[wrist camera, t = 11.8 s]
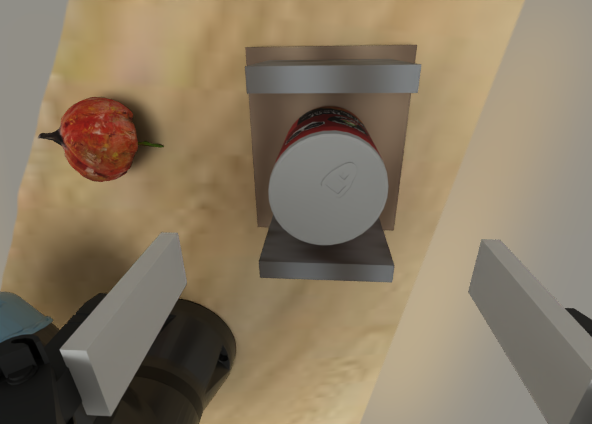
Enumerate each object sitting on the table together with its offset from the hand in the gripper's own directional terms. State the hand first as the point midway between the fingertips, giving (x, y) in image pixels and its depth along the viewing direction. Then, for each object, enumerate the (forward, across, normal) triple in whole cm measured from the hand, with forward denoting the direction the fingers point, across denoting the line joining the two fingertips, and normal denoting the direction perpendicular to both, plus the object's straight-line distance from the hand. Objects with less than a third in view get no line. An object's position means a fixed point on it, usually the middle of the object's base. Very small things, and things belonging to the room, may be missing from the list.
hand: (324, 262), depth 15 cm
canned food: (+19, 0, 0) cm, 19 cm away
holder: (+20, 0, 0) cm, 20 cm away
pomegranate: (+20, -20, +1) cm, 28 cm away
